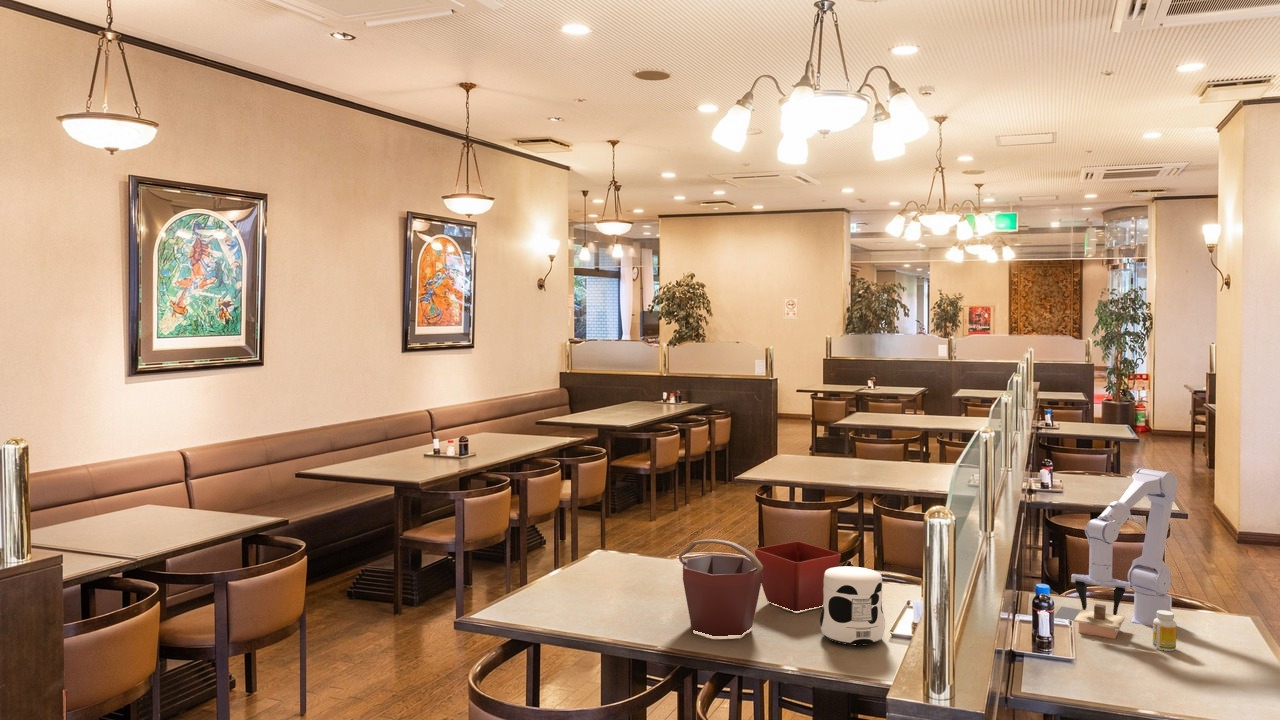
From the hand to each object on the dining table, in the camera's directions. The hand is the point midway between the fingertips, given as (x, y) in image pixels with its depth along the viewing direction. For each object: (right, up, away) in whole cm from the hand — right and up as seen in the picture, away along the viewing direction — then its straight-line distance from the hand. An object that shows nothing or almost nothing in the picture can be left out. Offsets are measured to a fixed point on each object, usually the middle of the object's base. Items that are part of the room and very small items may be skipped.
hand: (1099, 611), depth 251 cm
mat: (+2, -6, +14) cm, 15 cm away
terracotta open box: (0, -6, 0) cm, 6 cm away
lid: (0, -3, 0) cm, 3 cm away
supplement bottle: (+11, -7, -11) cm, 17 cm away
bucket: (-105, -6, +3) cm, 105 cm away
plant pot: (-80, -5, +24) cm, 84 cm away
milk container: (-70, -6, -5) cm, 71 cm away
